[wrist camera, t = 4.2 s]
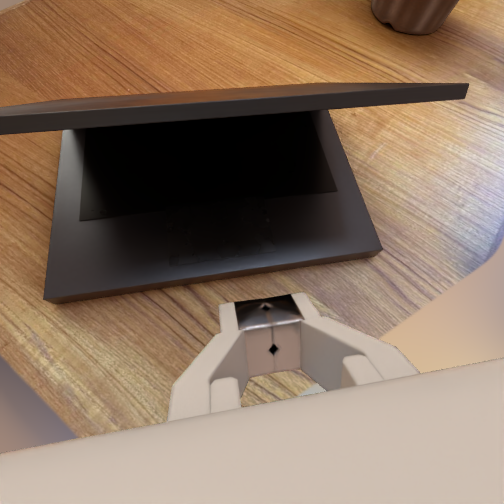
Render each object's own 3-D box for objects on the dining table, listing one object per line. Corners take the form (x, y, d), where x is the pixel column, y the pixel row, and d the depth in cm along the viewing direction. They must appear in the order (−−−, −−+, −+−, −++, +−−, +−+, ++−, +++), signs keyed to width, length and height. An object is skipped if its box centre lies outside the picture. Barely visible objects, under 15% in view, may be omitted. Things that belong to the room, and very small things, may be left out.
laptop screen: (464, 101, 16) (470, 83, 16) (-122, 146, 13) (-138, 125, 12) (320, 90, 35) (321, 82, 34) (65, 108, 31) (61, 99, 31)
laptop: (374, 256, 28) (383, 249, 26) (55, 304, 24) (41, 299, 23) (316, 103, 36) (320, 90, 35) (73, 121, 33) (64, 107, 31)
